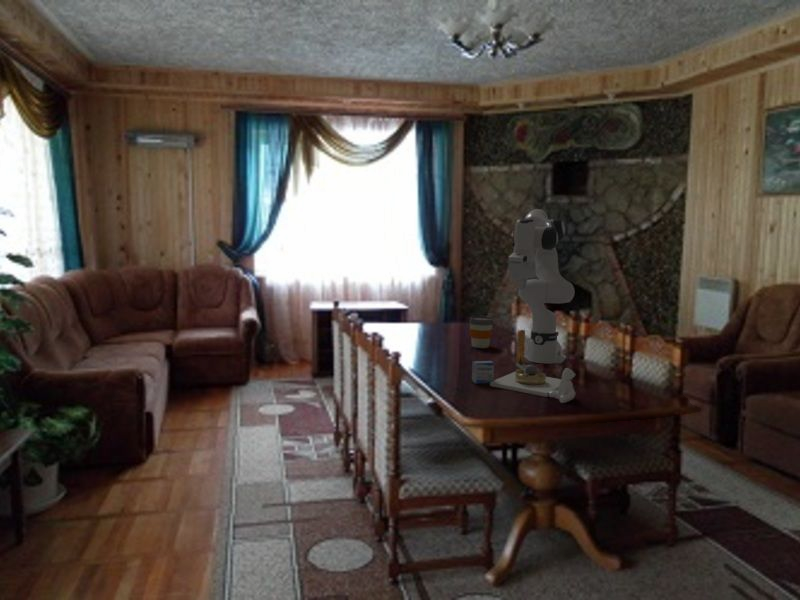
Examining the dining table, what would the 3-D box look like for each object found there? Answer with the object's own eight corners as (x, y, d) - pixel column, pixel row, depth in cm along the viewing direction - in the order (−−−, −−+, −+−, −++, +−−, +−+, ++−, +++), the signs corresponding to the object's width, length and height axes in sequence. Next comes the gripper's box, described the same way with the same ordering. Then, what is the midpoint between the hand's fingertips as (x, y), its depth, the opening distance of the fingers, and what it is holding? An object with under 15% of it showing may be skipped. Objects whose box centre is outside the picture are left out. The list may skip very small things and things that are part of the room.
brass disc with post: (549, 385, 243) (552, 339, 241) (520, 385, 242) (523, 339, 239) (531, 371, 264) (533, 329, 262) (504, 371, 263) (506, 329, 260)
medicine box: (475, 384, 248) (476, 363, 247) (471, 381, 252) (472, 360, 251) (493, 383, 250) (494, 362, 249) (489, 380, 254) (490, 360, 253)
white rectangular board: (515, 374, 265) (516, 356, 264) (569, 384, 251) (570, 365, 250) (489, 385, 246) (490, 366, 245) (546, 397, 232) (547, 376, 231)
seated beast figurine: (546, 396, 233) (548, 365, 231) (565, 394, 236) (567, 364, 234) (561, 403, 224) (563, 371, 222) (581, 401, 227) (583, 370, 226)
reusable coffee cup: (486, 349, 316) (487, 321, 314) (464, 346, 322) (465, 318, 320) (495, 345, 326) (497, 318, 324) (474, 342, 333) (475, 315, 331)
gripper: (527, 255, 270) (525, 286, 272) (506, 257, 254) (504, 290, 256) (540, 256, 267) (538, 288, 268) (520, 258, 250) (518, 291, 252)
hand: (522, 289), depth 262 cm, fingers closed
